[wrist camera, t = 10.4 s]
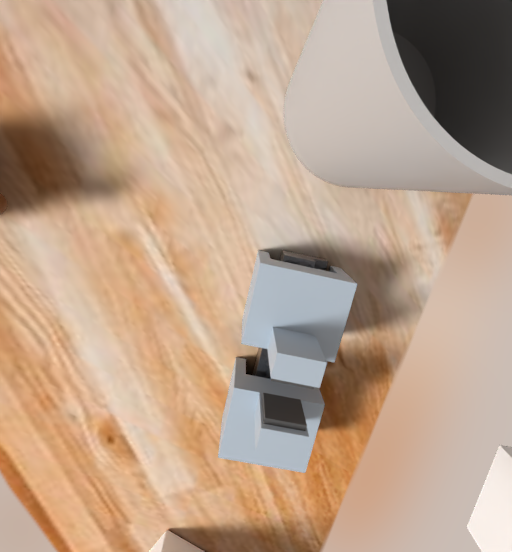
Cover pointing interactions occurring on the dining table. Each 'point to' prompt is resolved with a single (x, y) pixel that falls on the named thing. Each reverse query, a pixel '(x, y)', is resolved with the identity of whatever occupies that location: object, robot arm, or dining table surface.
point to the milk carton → (173, 544)
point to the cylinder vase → (406, 96)
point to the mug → (2, 203)
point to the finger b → (296, 317)
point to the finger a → (269, 421)
